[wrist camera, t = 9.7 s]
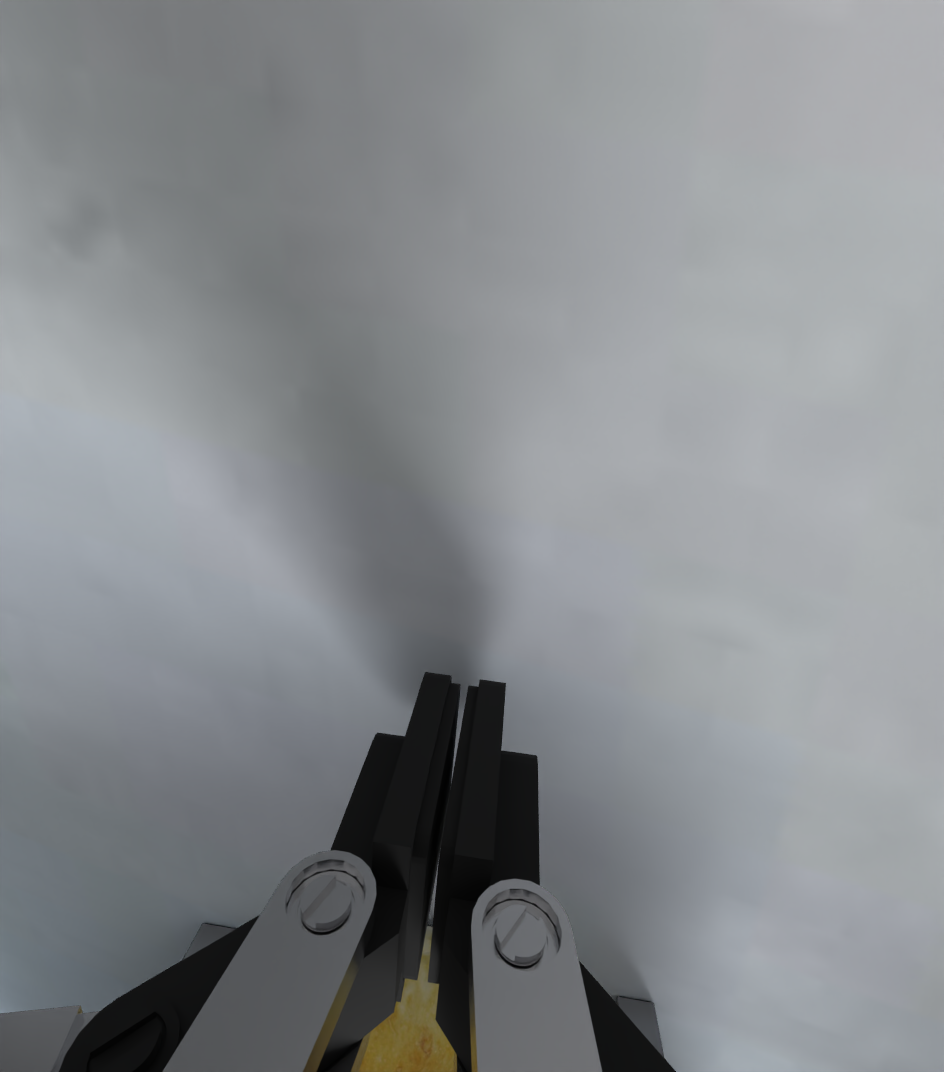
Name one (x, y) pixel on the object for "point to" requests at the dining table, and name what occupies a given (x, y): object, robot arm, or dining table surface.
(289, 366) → the dining table surface
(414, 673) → the dining table surface
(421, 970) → the bread roll
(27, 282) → the dining table surface
